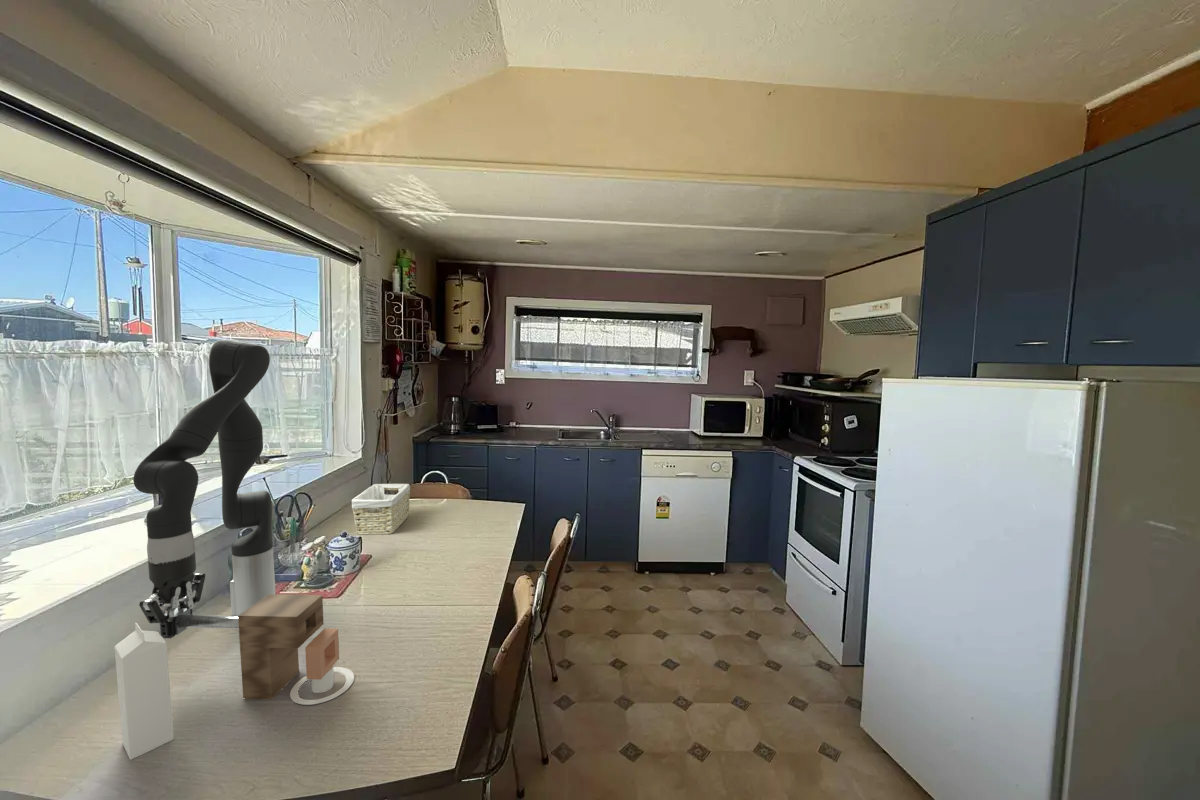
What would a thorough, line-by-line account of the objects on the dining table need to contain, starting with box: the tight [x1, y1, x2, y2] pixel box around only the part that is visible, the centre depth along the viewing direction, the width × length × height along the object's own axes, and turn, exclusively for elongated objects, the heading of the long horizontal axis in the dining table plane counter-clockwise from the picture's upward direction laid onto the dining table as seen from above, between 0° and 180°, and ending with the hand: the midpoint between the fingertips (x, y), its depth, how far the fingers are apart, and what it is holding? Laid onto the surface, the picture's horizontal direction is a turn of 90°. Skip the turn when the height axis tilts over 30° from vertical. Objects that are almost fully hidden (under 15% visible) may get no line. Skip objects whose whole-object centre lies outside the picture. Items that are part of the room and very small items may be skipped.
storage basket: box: [351, 483, 411, 536], centre depth 203 cm, size 24×16×15 cm
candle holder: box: [289, 666, 355, 706], centre depth 106 cm, size 12×12×4 cm
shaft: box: [165, 607, 308, 636], centre depth 105 cm, size 29×4×4 cm, turn 89°
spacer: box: [304, 627, 340, 680], centre depth 105 cm, size 3×7×7 cm, turn 179°
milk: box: [114, 622, 174, 761], centre depth 89 cm, size 6×6×22 cm
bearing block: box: [238, 593, 325, 701], centre depth 105 cm, size 12×9×18 cm
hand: (177, 631), depth 105 cm, fingers closed on shaft, 3 cm apart
